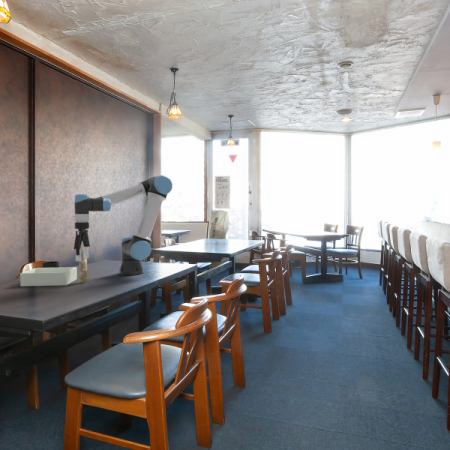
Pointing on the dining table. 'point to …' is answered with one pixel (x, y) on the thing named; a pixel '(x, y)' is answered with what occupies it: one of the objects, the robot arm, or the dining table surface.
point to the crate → (48, 276)
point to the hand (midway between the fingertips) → (82, 259)
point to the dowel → (83, 270)
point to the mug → (50, 264)
